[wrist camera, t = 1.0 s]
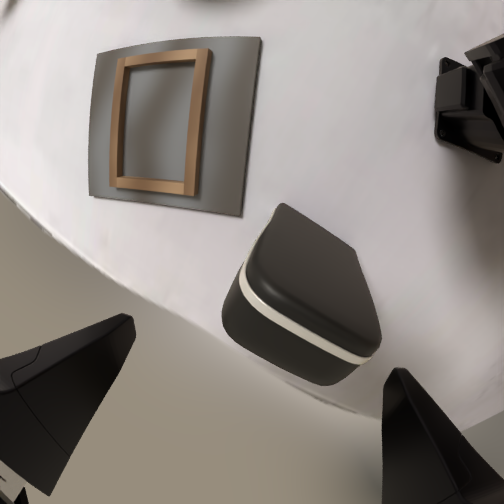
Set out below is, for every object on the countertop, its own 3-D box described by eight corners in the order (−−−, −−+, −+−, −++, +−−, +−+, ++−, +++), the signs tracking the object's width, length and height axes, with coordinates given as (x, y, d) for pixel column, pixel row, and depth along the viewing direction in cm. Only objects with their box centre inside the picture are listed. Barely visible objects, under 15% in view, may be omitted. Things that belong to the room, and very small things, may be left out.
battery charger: (252, 240, 21) (196, 339, 11) (279, 197, 20) (240, 271, 9) (328, 287, 21) (333, 408, 11) (358, 250, 20) (394, 360, 10)
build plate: (260, 39, 15) (257, 33, 14) (240, 214, 21) (236, 219, 19) (100, 54, 17) (91, 52, 16) (92, 194, 22) (83, 197, 21)
